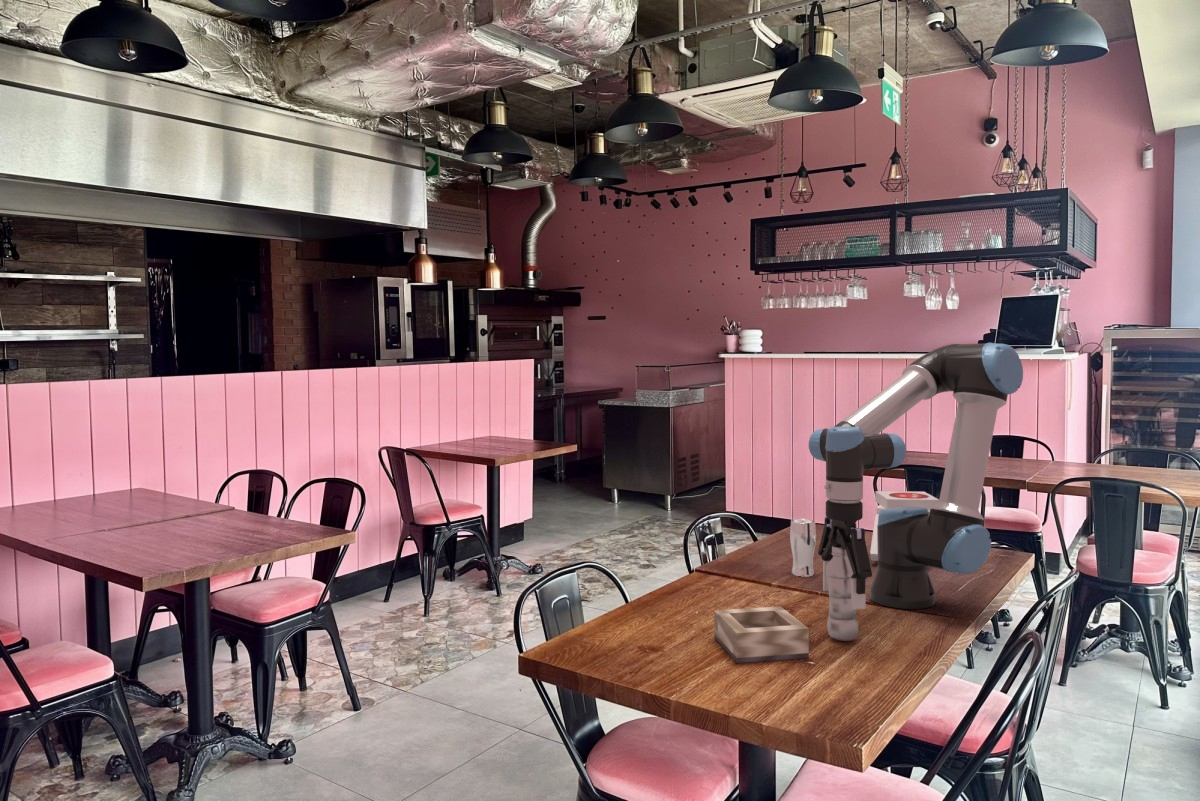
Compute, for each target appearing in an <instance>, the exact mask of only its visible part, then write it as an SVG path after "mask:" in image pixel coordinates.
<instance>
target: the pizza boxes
mask: <svg viewBox="0 0 1200 801" xmlns="http://www.w3.org/2000/svg"><path fill="white" fill-rule="evenodd" d="M874 496H875V497H874V502H875V503H877V504H878V505H877V507H876V514H875V516H874V517H875V518H874V524H873V531H872V536H871V544H870V551H869V552H870V553H869V556H870V561H874V562H876V561H877V562H878V539H877V525H878V516H879V513H880V511H882V510H884V509H888V508H897V507H925V508H927V509H928V512H929V513H930V508H931V507H932V506H934V505H935V504H937V503H938V502H939V499H940V498H937V497H935V496H933V495H932V494H930V493H927V492H926V491H907V490H906V491H900V490H899V491H898V490H897V491H896V490H895V491H892V490H891V491H887V490H884V491H883V490H882V491H881V490H880V491H879V490H878V491H877V490H876V491H875V495H874Z"/></svg>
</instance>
